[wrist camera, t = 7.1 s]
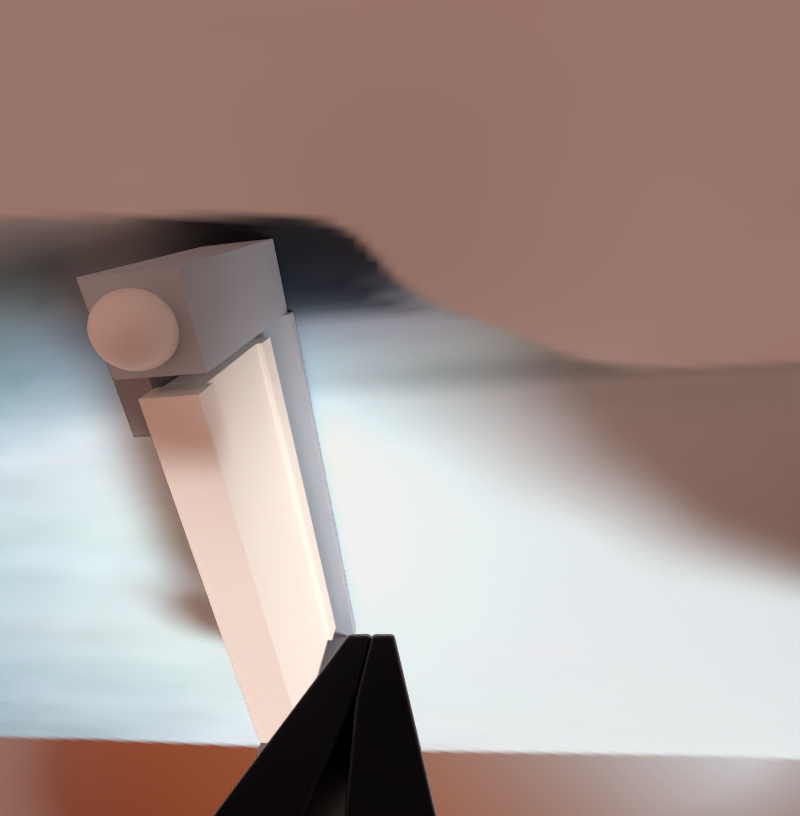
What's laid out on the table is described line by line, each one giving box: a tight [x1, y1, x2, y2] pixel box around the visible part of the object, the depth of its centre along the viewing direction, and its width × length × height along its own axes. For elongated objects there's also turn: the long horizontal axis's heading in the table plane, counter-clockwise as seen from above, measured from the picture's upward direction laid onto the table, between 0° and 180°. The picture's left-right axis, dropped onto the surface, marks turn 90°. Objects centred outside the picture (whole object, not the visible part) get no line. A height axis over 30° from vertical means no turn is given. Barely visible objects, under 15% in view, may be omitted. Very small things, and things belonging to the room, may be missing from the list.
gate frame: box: [76, 239, 356, 759], centre depth 17 cm, size 3×19×7 cm, turn 6°
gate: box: [138, 337, 336, 743], centre depth 17 cm, size 2×14×5 cm, turn 6°
